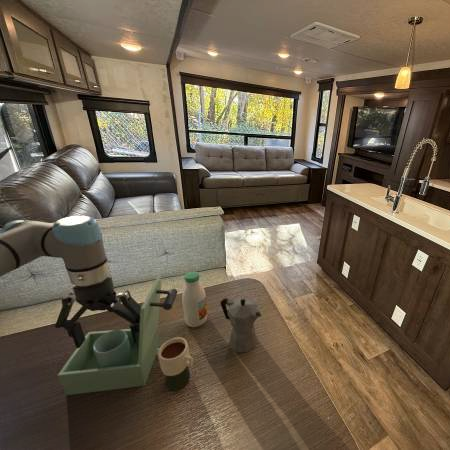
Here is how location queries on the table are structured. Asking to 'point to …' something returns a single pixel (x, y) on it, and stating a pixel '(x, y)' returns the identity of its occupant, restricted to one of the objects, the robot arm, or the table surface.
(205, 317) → the milk bottle
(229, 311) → the coffeepot
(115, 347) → the cup
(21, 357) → the table surface
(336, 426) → the table surface
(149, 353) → the chest
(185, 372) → the character mug
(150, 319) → the lid
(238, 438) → the table surface
